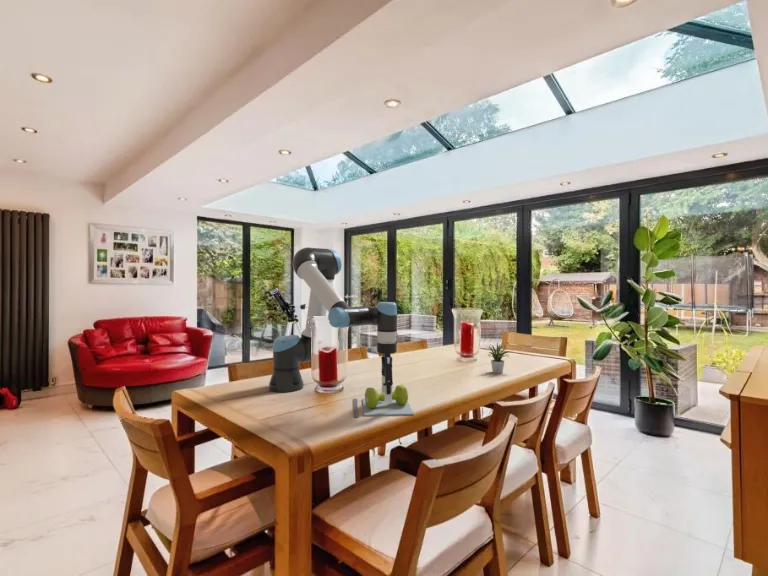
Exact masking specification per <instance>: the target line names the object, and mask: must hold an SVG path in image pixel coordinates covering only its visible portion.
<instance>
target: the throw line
mask: <svg viewBox="0 0 768 576" xmlns="http://www.w3.org/2000/svg"><path fill="white" fill-rule="evenodd" d="M352 408H353V410H352V411H353V415H352V416H353V418H357V419H358V418H359V412H358V409H359V408H358V399H357V398H353V399H352Z"/></svg>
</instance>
